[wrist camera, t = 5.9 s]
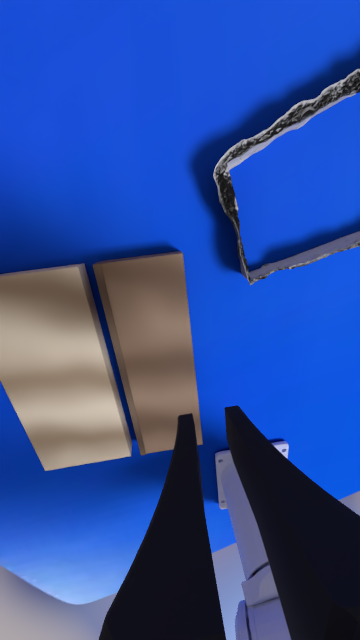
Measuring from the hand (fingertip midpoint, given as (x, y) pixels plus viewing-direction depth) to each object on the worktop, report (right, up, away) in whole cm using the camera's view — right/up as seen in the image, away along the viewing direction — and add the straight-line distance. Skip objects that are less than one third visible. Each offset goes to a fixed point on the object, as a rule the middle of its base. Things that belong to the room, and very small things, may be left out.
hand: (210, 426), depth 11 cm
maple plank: (-11, 0, +9) cm, 14 cm away
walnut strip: (-3, +1, +9) cm, 10 cm away
